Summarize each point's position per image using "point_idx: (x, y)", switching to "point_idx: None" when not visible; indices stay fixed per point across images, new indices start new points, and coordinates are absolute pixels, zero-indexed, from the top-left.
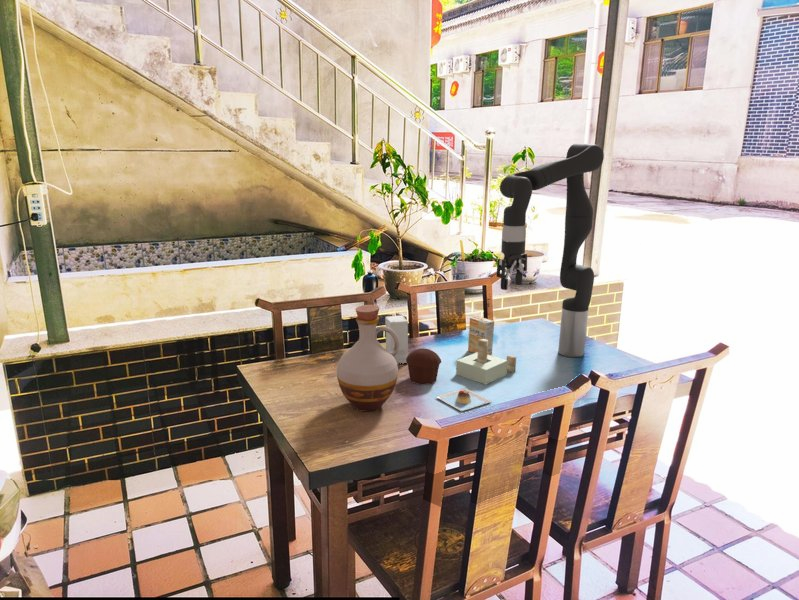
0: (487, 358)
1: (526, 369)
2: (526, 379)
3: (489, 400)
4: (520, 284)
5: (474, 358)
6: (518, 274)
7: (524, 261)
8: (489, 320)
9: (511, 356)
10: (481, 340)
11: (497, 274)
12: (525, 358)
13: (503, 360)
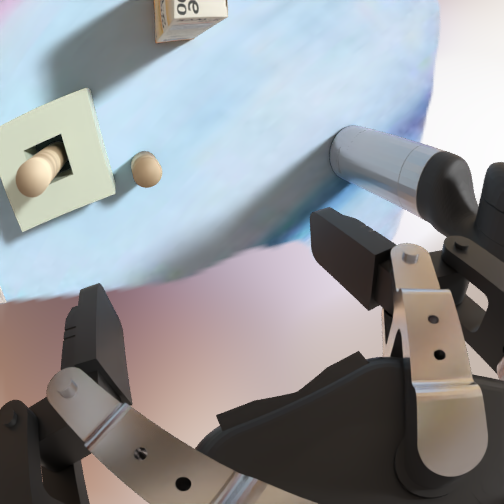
0: (72, 153)
1: (187, 175)
2: (140, 228)
3: (3, 297)
4: (315, 258)
5: (37, 137)
6: (368, 284)
7: (492, 359)
8: (215, 2)
9: (150, 169)
10: (26, 175)
11: (3, 442)
12: (246, 113)
13: (105, 188)
